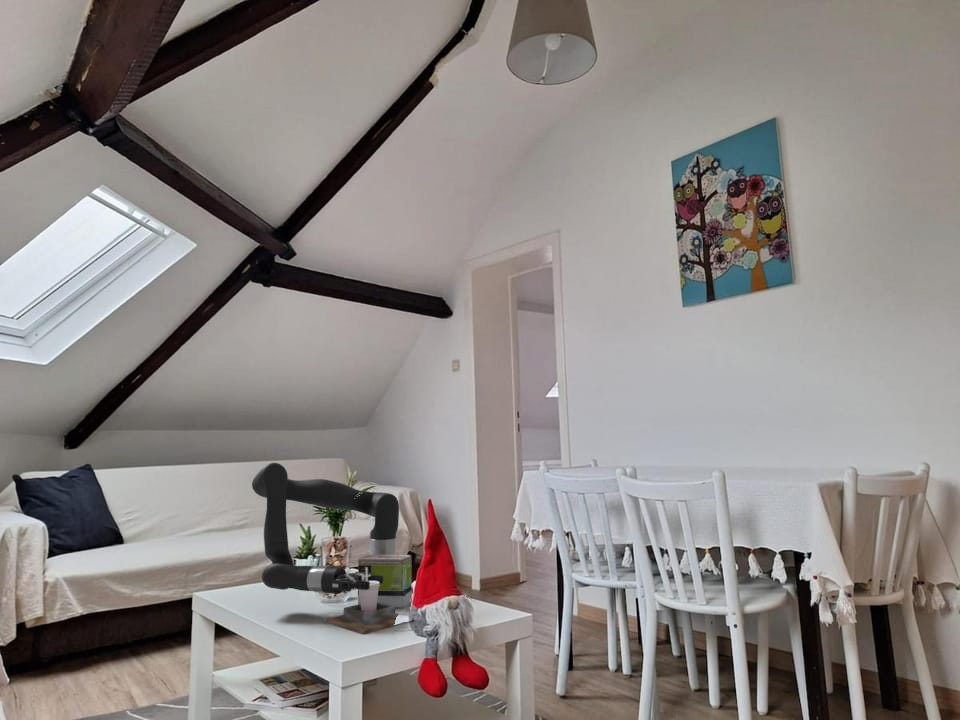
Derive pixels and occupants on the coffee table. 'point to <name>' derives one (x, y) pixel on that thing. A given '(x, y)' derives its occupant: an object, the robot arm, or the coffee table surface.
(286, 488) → the robot arm
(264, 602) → the coffee table surface
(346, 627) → the collar stand
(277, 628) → the coffee table surface
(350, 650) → the coffee table surface
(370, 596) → the smoothie
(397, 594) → the tea box
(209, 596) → the coffee table surface
